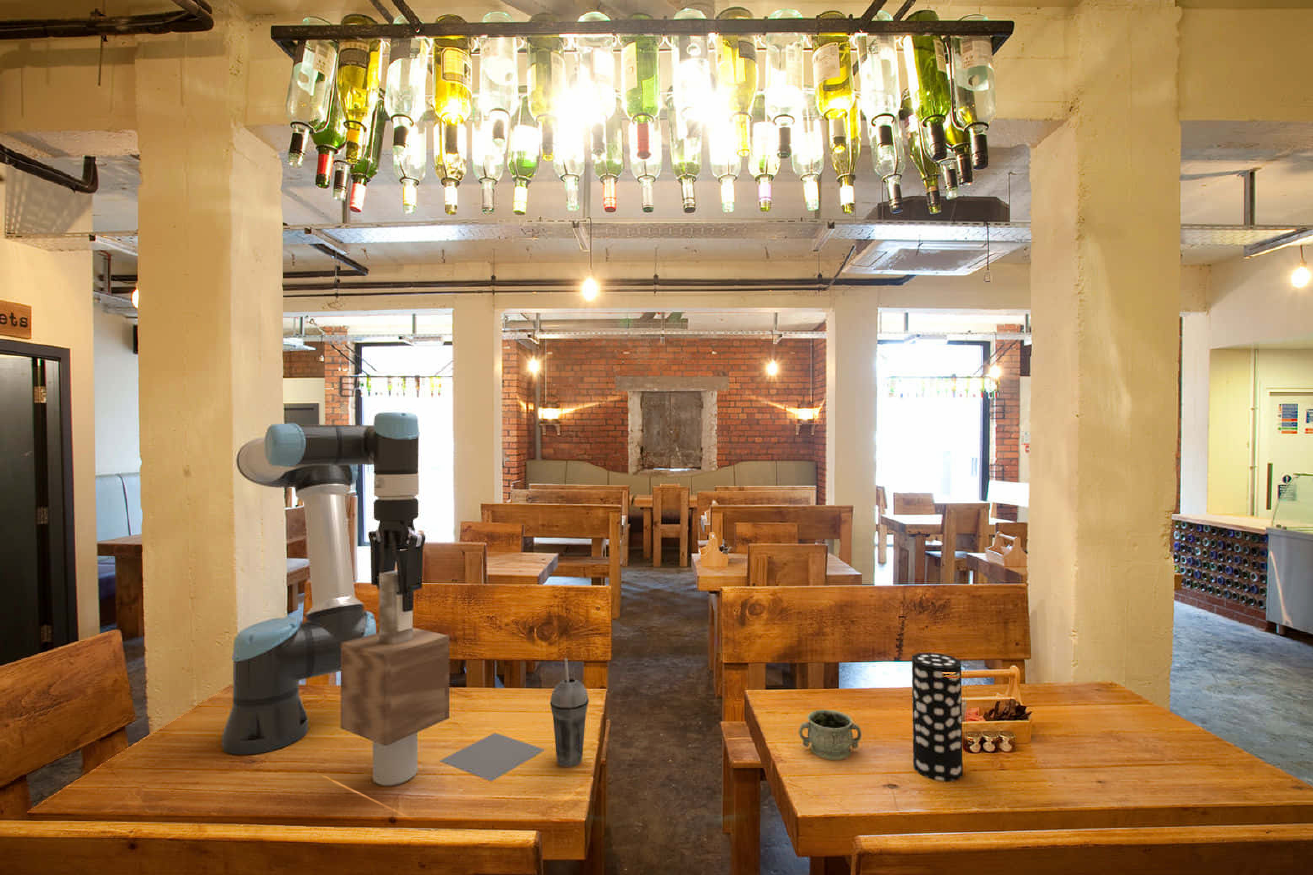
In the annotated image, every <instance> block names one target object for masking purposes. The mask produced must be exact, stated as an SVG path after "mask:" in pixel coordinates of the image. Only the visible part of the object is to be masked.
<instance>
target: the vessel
mask: <svg viewBox="0 0 1313 875" xmlns="http://www.w3.org/2000/svg"><path fill="white" fill-rule="evenodd" d="M807 720H808V721H806V722H802V723H801V725H800V727H799V729H798V735H799V738H800V739H801V740H802V745H803V746H804V747H805V748H809V745H810V744H811V745H810V750H811V752H812V753H813V754H814V755H816V756H817V757H820V758H822V759H825V760H831V761H832V760H833V761H837V760H838V761H840V760H845V759H847V758H849V756H851V750H850V747H851V748H853V749H857V748H858V747H859V742H860V740H861V739H862V731H861V727H860V726H859V724H857V723H853V719H852V717H851V716H849V715H848V714H847V713H844V712H841V711H838V710H833V709H818V710H814V711H811V712H810V713H809V714H808V715H807ZM804 729H807V736H806V737H805V736H804V735H803V730H804ZM852 730H854V731H855V730H856V731H857V736H856V737H855V738H854V735H853V731H852Z"/></svg>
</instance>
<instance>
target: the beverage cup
mask: <svg viewBox="0 0 1313 875" xmlns="http://www.w3.org/2000/svg"><path fill="white" fill-rule="evenodd" d="M564 670H565V679H562V680H561V681H560V682H558V683H557V684H556V685H555V687H554V689H553V690H552V693H551V698H550V702H549V704H550V710H551V714H552V719H553V731H554V743H555V745H554V746H555V755H556V760H557V764H558V765H559V766H560V767H564V768H572V767H576V766H578V765H580V764H581V763H582V761H583V754H584V741H585V730H586V728H585V727H586V717H587V716H586V715H587V712H588V711H587V710H588V705H589V701H590V700H589V694H588V691H587V689H586V687H585V686H584V684H583V683H582V682H581V681H579V680H577V679H574V678H570V677H569V663H568V658H567V657H565V658H564Z"/></svg>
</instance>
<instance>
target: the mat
mask: <svg viewBox="0 0 1313 875" xmlns="http://www.w3.org/2000/svg"><path fill="white" fill-rule="evenodd" d="M544 751H546V749H545V748H542V747H539V746H536V745H532V744H530V743H526V742H524V741H521V740H518V739H514V738H513V737H512V738H511V737H509V736H506V735H503V734H500V733H497V732H494V733H492V734H490V735H488V736H486V737H484V738H481V739H480V740H478V741H476V742H474V743H471V744H470V745H468V746H466V747H464V748H462V749H460V750H458V751H456V752H454V753H452V754H450V755H448V756H446V757H444V758H442V759H440V760H439V762H441V763H443V764H446V765H449V766H451V767H453V768H456V769H459V770H461V771H464V772H466V773H469V774H471V775H474V776H476V777H479V778H482V779H484V780H487V781H489V782H493V781H495V780H496V779H498V778H500V777H502V776H503V775H505V774H507V773H508V772H510V771H512V770H513V769H515V768H517V767H518V766H520V765H522V764H523V763H525V762H528V761H529V760H531V759H532V758H534V757H536V756H537V755H540V754H541V753H542V752H544Z"/></svg>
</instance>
